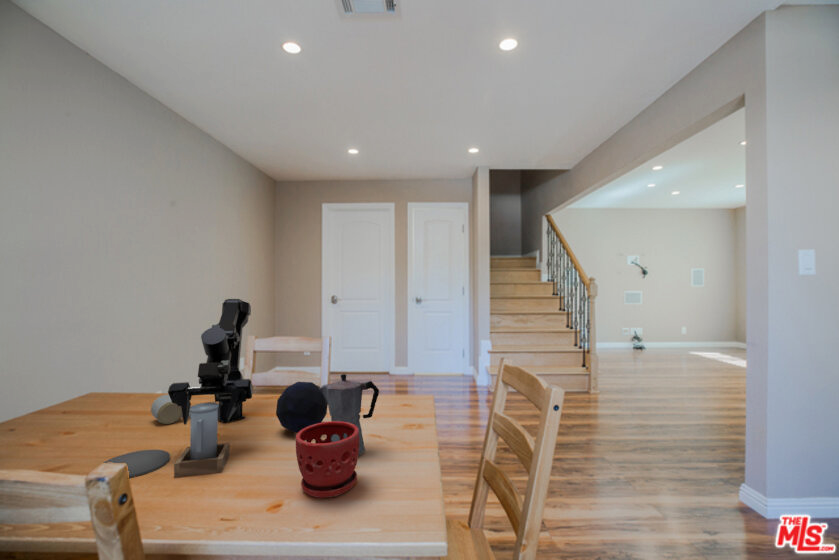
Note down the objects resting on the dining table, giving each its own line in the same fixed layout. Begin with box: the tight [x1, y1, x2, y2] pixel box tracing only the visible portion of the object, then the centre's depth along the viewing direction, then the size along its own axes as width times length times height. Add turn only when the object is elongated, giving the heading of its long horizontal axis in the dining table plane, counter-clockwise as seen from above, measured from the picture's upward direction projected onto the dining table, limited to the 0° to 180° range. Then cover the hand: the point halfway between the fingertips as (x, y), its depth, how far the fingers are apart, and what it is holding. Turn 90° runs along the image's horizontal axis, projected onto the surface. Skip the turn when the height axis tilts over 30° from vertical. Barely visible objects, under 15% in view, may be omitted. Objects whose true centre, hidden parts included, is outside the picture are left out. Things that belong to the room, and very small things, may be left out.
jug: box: [189, 401, 219, 460], centre depth 92 cm, size 8×6×14 cm
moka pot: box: [319, 373, 380, 456], centre depth 101 cm, size 10×15×20 cm, turn 95°
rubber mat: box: [103, 449, 171, 479], centre depth 93 cm, size 14×14×1 cm
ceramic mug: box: [150, 394, 191, 425], centre depth 124 cm, size 11×8×8 cm
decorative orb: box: [275, 381, 328, 434], centre depth 116 cm, size 14×15×15 cm
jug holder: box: [173, 442, 231, 478], centre depth 93 cm, size 10×10×3 cm
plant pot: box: [295, 420, 359, 499], centre depth 83 cm, size 13×13×12 cm
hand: (206, 422), depth 95 cm, fingers open, 9 cm apart
